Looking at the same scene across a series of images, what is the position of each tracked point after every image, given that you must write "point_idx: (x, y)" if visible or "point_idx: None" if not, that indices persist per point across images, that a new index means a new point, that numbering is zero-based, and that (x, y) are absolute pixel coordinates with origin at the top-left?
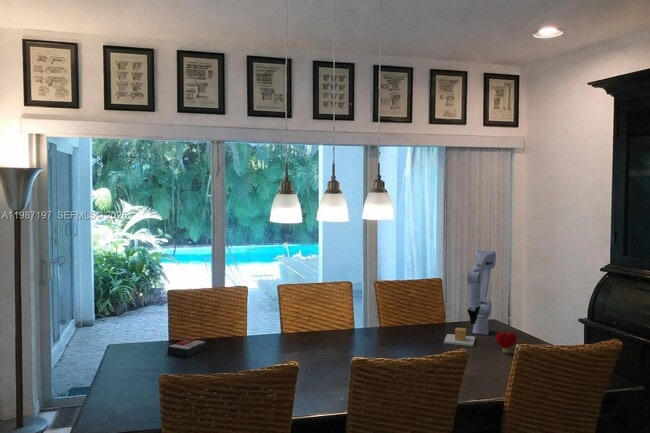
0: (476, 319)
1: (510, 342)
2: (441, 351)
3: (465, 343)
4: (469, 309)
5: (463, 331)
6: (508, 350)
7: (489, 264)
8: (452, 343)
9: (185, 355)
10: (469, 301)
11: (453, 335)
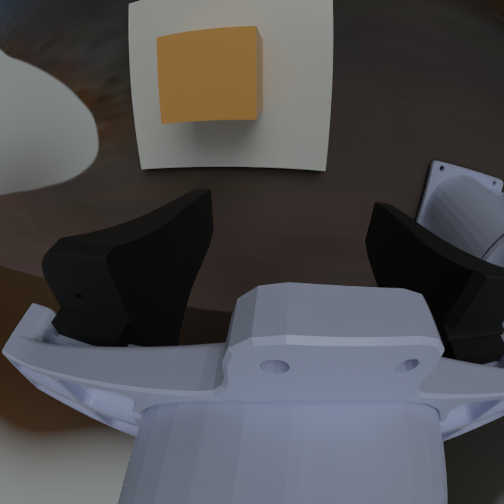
0: (366, 247)
1: None
2: (26, 60)
3: (136, 124)
4: (102, 291)
5: (162, 107)
6: None
7: None
8: (132, 49)
9: None
10: (144, 500)
11: (306, 23)
